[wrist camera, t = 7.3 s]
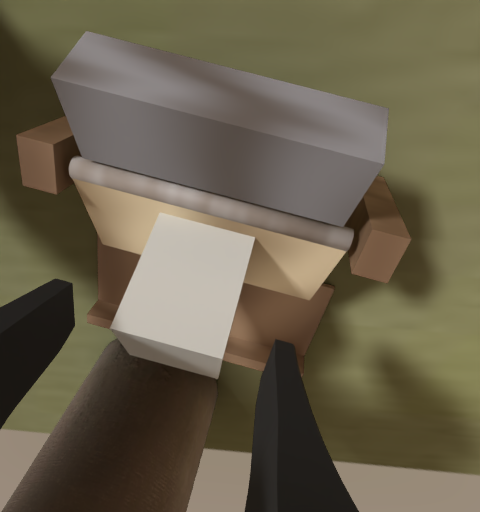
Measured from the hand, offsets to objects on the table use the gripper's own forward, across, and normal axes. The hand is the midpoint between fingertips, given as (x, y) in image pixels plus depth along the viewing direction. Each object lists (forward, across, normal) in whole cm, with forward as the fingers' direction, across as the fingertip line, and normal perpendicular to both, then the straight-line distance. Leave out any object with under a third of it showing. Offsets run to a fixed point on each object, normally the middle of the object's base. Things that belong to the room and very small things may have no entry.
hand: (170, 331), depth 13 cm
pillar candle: (+10, +2, +16) cm, 19 cm away
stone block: (+3, 0, +1) cm, 3 cm away
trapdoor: (+6, 0, -4) cm, 7 cm away
